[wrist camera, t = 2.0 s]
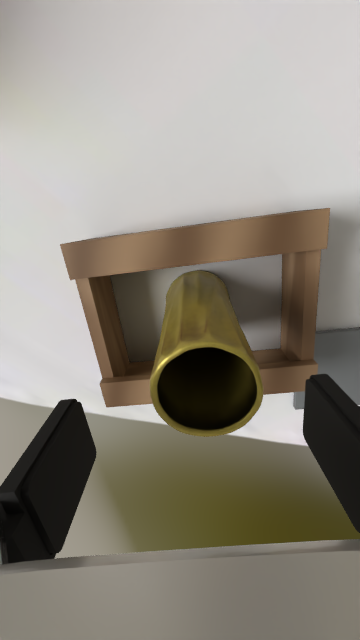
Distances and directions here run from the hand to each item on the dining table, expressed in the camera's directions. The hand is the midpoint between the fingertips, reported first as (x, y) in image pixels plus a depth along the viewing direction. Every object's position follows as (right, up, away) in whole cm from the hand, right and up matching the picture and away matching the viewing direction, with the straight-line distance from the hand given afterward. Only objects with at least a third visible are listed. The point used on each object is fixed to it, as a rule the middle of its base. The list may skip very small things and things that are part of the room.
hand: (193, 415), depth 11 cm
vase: (+1, +6, +14) cm, 16 cm away
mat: (+16, -1, +16) cm, 23 cm away
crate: (+1, +6, +14) cm, 15 cm away
